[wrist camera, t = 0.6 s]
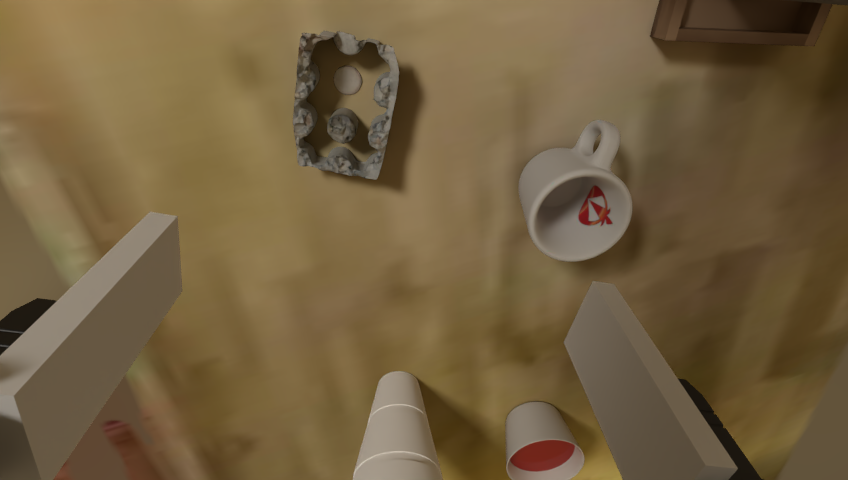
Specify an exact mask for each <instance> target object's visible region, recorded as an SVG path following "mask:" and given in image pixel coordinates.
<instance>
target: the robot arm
mask: <svg viewBox="0 0 848 480" xmlns="http://www.w3.org/2000/svg"><path fill="white" fill-rule="evenodd" d="M181 292H182V279H181V263H180V247H179V231H178V216H173V215H166V214H160V213H154V212H149V213H148V214H147V215H146V216H145V217H144V218H143V219H142V220H141V221H140V222H139V223H138V224H137V225H136V226H135V227H134V228H133V229H132V230H131V231H129V232H128V233H127V234H126V235H125V236H124V237H123V238H122V239H121V240H120V241H119V242H118V243H117V244H116V245H115V246H114V247H113V248H112V249H111V250H110V251H109V252H108V253H107V254H106V255H104V256H103V257H102V258H101V259H100V260H99V261H98V262H97V263H96V264H95V265H94V266H93V267H92V268H91V269H90V270H89V271H88V272H87V273H86V274H85V275H84V276H83V277H82V278H81V279H79V280H78V281H77V282H76V283H75V284H74V285H73V286H72V287H71V288H70V289H69V290H68V291H67V292H66V293H65V294H64V295H63V296H62V297H61V298H60V299H59V300H58V301H55V300H47V299H39V298H37V299H35V300H33V301H31V302H29V303H27V304H25V305H23V306H21V307H19V308H17V309H15V310H13V311H11V312H10V313H9V314H8V315H7V316H6V317H5V318H3V319H2V320H1V321H0V480H53V479H54V477H55V476H56V475H57V473H58V472H59V470H60V469H61V467H62V466H63V464H64V463H65V461H66V460H67V459H68V457H69V456H70V454H71V453H72V451H73V450H74V448H75V447H76V445H77V444H78V442H79V441H80V439H81V438H82V437H83V435H84V434H85V432H86V431H87V429H88V428H89V426H90V425H91V423H92V422H93V421H94V419H95V418H96V416H97V414H98V413H99V412H100V410H101V409H102V407H103V406H104V404H105V403H106V402H107V400H108V399H109V397H110V396H111V394H112V393H113V391H114V390H115V388H116V387H117V385H118V384H119V383H120V381H121V380H122V378H123V377H124V375H125V374H126V372H127V371H128V369H129V368H130V367H131V365H132V364H133V362H134V361H135V359H136V358H137V356H138V355H139V353H140V352H141V350H142V349H143V348H144V346H145V345H146V343H147V342H148V340H149V339H150V337H151V336H152V334H153V333H154V332H155V330H156V329H157V327H158V326H159V324H160V323H161V321H162V320H163V318H164V317H165V315H166V314H167V313H168V311H169V310H170V308H171V307H172V305H173V304H174V302H175V301H176V299H177V298H178V296H179V295H180V294H181ZM564 344H565V347H566V349H567V351H568V354H569V356H570V358H571V360H572V363H573V365H574V367H575V370H576V372H577V374H578V377H579V379H580V381H581V384H582V386H583V388H584V391H585V393H586V395H587V397H588V400H589V402H590V404H591V407H592V409H593V411H594V414H595V416H596V418H597V421H598V423H599V425H600V428H601V430H602V432H603V435H604V437H605V439H606V441H607V444H608V446H609V448H610V451H611V453H612V455H613V458H614V460H615V462H616V465H617V467H618V469H619V472H620V474H621V476H622V478H623V480H763V479H761V478H760V476H759V475H758V474H757V472H756V471H755V469H754V468H753V466H752V465H751V464H750V462H749V461H748V459H747V458H746V456H745V455H744V454H743V452H742V451H741V449H740V448H739V447H738V445H737V444H736V442H735V441H734V439H733V438H732V437H731V435H730V434H729V432H728V431H727V429H726V428H723V424H722V422H721V421H720V420H719V418H718V417H717V415H714V413H713V412H714V411H713V410H712V408H711V407H710V405H709V404H708V403H707V401H706V400H705V398H704V397H703V395H702V394H701V393H699V392H698V391H697V390H696V389H695V388H694V387H693V386H692V385H691V384H690V383H689V382H687V381H686V380H684V379H678V378H677V377H676V376H675V374H674V373H673V371H672V370H671V368H670V367H669V365H668V364H667V362H666V361H665V359H664V358H663V356H662V355H661V353H660V352H659V350H658V349H657V347H656V346H655V344H654V343H653V341H652V340H651V338H650V337H649V335H648V334H647V332H646V331H645V329H644V328H643V326H642V325H641V323H640V322H639V320H638V319H637V318H636V316H635V315H634V313H633V312H632V310H631V309H630V307H629V306H628V304H627V303H626V301H625V300H624V298H623V297H622V295H621V294H620V292H619V291H618V289H617V288H616V286H615V285H614V284H610V283H604V282H598V281H592V283H591V286H590V288H589V290H588V292H587V294H586V296H585V298H584V300H583V302H582V305H581V307H580V309H579V311H578V313H577V315H576V317H575V319H574V321H573V324H572V326H571V328H570V330H569V332H568V334H567V336H566V338H565V341H564Z"/></svg>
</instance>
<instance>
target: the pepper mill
mask: <svg viewBox="0 0 848 480" xmlns="http://www.w3.org/2000/svg"><path fill="white" fill-rule="evenodd" d="M787 1H799V2H812V3H825V4H837V5H848V0H787Z"/></svg>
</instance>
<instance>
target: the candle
mask: <svg viewBox="0 0 848 480" xmlns="http://www.w3.org/2000/svg"><path fill="white" fill-rule="evenodd" d="M505 437H506V470H507V474H508V476H509V477H510V478H511V479H512V480H570V479H571V478H573V477H574V476H575V475H576V474H577V473H578V472H579V471H580V470H581V469H582V467H583V464H584V454H583V451H582V450H581V448H580V446H579V445H578V443H577V441H576V439H575V438H574V436H573V434H572V433H571V431H570V429H569V428H568V426H567V424H566V423H565V421H564V419H563V418H562V416H561V414H560V413H559V411H558V410H557V409H556V408H555V407H554V406H552V405H551V404H548V403H545V402H528V403H524V404H522V405H519V406H518V407H516V408H514V409H513V410H512V411H511V412H510V413H509V415H508V416H507V418H506V424H505Z"/></svg>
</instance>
